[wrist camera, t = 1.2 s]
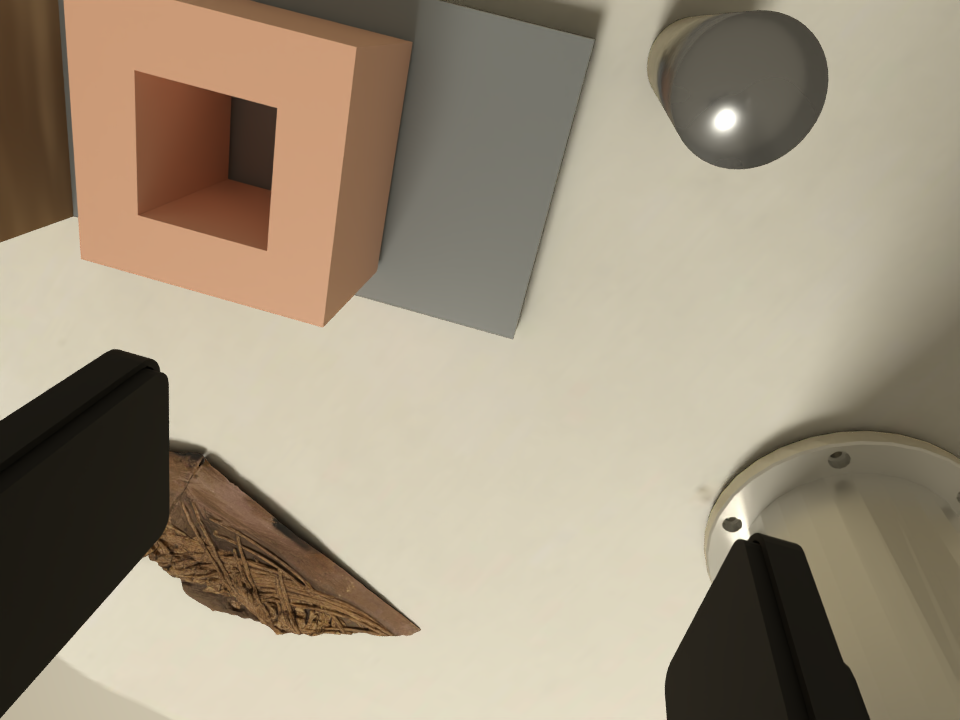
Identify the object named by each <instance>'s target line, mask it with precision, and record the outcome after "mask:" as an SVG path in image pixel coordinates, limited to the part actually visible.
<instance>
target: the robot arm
mask: <svg viewBox="0 0 960 720" xmlns="http://www.w3.org/2000/svg"><path fill="white" fill-rule="evenodd" d="M169 514H170V490H169V383H168V378H167V376H166V374H164V373H162V372H160V367H159V365H158V363H157V362H156V361H155V360H153V359H150V358H146V357H143V356H139V355H136V354H132V353H129V352H125V351H122V350H118V349H113V350H110V351H108V352H106V353H104V354H103V355H101V356H100V357H98V358H97V359H95V360H94V361H92V362H91V363H89V364H87V365H86V366H84V367H83V368H81V369H80V370H78V371H77V372H75V373H74V374H72V375H70V376H69V377H67V378H66V379H64V380H63V381H61V382H60V383H58V384H57V385H55V386H53V387H52V388H50V389H49V390H47V391H46V392H44V393H43V394H41V395H40V396H38V397H36V398H35V399H33V400H32V401H30V402H29V403H27V404H26V405H24V406H23V407H21V408H19V409H18V410H16V411H15V412H13V413H12V414H10V415H9V416H7V417H6V418H4V419H2V420H1V421H0V718H1V717H2V716H3V715H4V714H5V712H6V711H7V710H8V709H9V708H10V707H11V706H12V705H13V703H14V702H15V701H16V700H17V699H18V698H19V696H20V695H21V694H22V693H23V692H24V691H25V690H26V689H27V688H28V686H29V685H30V684H31V683H32V682H33V681H34V680H35V678H36V677H37V676H38V675H39V674H40V673H41V672H42V671H43V669H44V668H45V667H46V666H47V665H48V664H49V663H50V662H51V660H52V659H53V658H54V657H55V656H56V655H57V654H58V652H59V651H60V650H61V649H62V648H63V647H64V646H65V645H66V643H67V642H68V641H69V640H70V639H71V638H72V637H73V635H74V634H75V633H76V632H77V631H78V630H79V629H80V628H81V626H82V625H83V624H84V623H85V622H86V621H87V620H88V619H89V617H90V616H91V615H92V614H93V613H94V612H95V611H96V609H97V608H98V607H99V606H100V605H101V604H102V603H103V602H104V600H105V599H106V598H107V597H108V596H109V595H110V594H111V593H112V591H113V590H114V589H115V588H116V587H117V586H118V585H119V583H120V582H121V581H122V580H123V579H124V578H125V577H126V576H127V574H128V573H129V572H130V571H131V570H132V569H133V568H134V566H135V565H136V564H137V563H138V562H139V561H140V560H141V559H142V557H143V556H144V555H145V554H146V553H147V552H148V551H149V550H150V548H151V547H152V546H153V545H154V544H155V543H156V542H157V540H158V539H159V538H160V537H161V535H162V534H163V532H164V530H165V528H166V526H167V523H168V520H169ZM704 553H705V559H706V565H707V572H708V575H709V578H710V580H711V583H712V585H711V587H710V589H709V590H708V592H707V594H706V596H705V598H704V600H703V602H702V604H701V606H700V607H699V609H698V611H697V613H696V615H695V617H694V619H693V621H692V623H691V625H690V626H689V628H688V630H687V632H686V634H685V636H684V638H683V640H682V642H681V643H680V645H679V647H678V649H677V651H676V653H675V655H674V657H673V659H672V660H671V662H670V665H669V667H668V671H667V675H666V680H665V700H666V713H667V720H960V459H958V458H957V457H956V456H954V455H953V454H951V453H949V452H947V451H945V450H943V449H941V448H939V447H937V446H935V445H933V444H931V443H928V442H925V441H922V440H918V439H915V438H911V437H908V436H904V435H900V434H892V433H884V432H875V431H855V432H837V433H831V434H826V435H821V436H815V437H810V438H807V439H804V440H801V441H798V442H795V443H792V444H789V445H787V446H784V447H781V448H779V449H777V450H775V451H774V452H772V453H770V454H768V455H766V456H764V457H762V458H760V459H758V460H757V461H756V462H754V463H753V464H752V465H750V466H749V467H748V468H746V469H745V470H744V471H743V472H741V473H740V474H739V475H737V476H736V477H735V479H734V480H733V481H732V482H731V483H730V484H729V485H728V486H727V488H726V489H725V490H724V491H723V492H722V493H721V495H720V496H719V498H718V500H717V502H716V503H715V505H714V507H713V509H712V510H711V512H710V516H709V519H708V522H707V526H706V529H705V539H704Z"/></svg>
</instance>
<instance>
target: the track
mask: <svg viewBox="0 0 960 720" xmlns="http://www.w3.org/2000/svg"><path fill="white" fill-rule="evenodd" d="M251 1H254V2H258V3H262V4H266V5H270V6H274V7H278V8H282V9H286V10H290V11H293V12H297V13H301V14H305V15H309V16H313V17H317V18H321V19H325V20H329V21H332V22H336V23H340V24H344V25H348V26H352V27H356V28H360V29H364V30H368V31H371V32H375V33H379V34H383V35H387V36H391V37H395V38H399V39H403V40H407V41H410V42H413V43H412V50H411V56H410V63H409V69H408V75H407V82H406V88H405V95H404V101H403V108H402V114H401V120H400V127H399V133H398V140H397V146H396V152H395V159H394V165H393V172H392V178H391V185H390V191H389V197H388V204H387V210H386V217H385V223H384V230H383V236H382V242H381V249H380V255H379V262H378V268H377V272H376V273H375V274H374V275H373V276H372V277H371V278H370V279H369V280H368V281H367V282H366V283H365V284H364V285H363V286H362V287H361V288H360V289H359V291H358V292H357V293H356V294H355V295H356V296H360V297H364V298H367V299H371V300H374V301H378V302H381V303H385V304H389V305H392V306H396V307H399V308H403V309H406V310H410V311H414V312H417V313H421V314H424V315H428V316H431V317H435V318H438V319H442V320H446V321H449V322H453V323H456V324H460V325H463V326H467V327H471V328H474V329H478V330H481V331H485V332H488V333H492V334H496V335H499V336H503V337H506V338H510V339H513V338H514V335H515V332H516V328H517V325H518V321H519V317H520V314H521V310H522V306H523V303H524V299H525V295H526V292H527V288H528V284H529V281H530V277H531V273H532V270H533V266H534V262H535V259H536V255H537V251H538V248H539V244H540V240H541V237H542V233H543V229H544V226H545V222H546V218H547V215H548V211H549V207H550V204H551V200H552V196H553V193H554V189H555V185H556V182H557V178H558V174H559V171H560V167H561V163H562V160H563V156H564V152H565V149H566V145H567V141H568V138H569V134H570V130H571V127H572V123H573V119H574V116H575V112H576V108H577V105H578V101H579V97H580V94H581V90H582V86H583V83H584V79H585V75H586V72H587V68H588V64H589V61H590V57H591V53H592V50H593V46H594V42H595V39H593V38H589V37H585V36H581V35H577V34H573V33H569V32H565V31H561V30H557V29H553V28H549V27H545V26H541V25H537V24H533V23H529V22H525V21H521V20H517V19H513V18H509V17H505V16H501V15H497V14H493V13H490V12H486V11H482V10H478V9H474V8H470V7H466V6H462V5H458V4H454V3H450V2H446V1H442V0H251ZM58 5H59V19H60V33H61V48H62V62H63V76H64V90H65V104H66V118H67V132H68V146H69V160H70V174H71V188H72V202H73V216H74V217H78V206H77V191H76V176H75V162H74V147H73V132H72V117H71V103H70V88H69V73H68V58H67V43H66V29H65V14H64V0H58ZM276 120H277V108H275V107H271V106H268V105H264V104H260V103H256V102H252V101H249V100H245V99H241V98H237V97H234V96H231V119H230V144H229V169H228V179H230V180H234V181H237V182H241V183H245V184H248V185H252V186H256V187H259V188H263V189H267V190H270V191H271V190H272V176H273V162H274V148H275V134H276Z"/></svg>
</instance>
